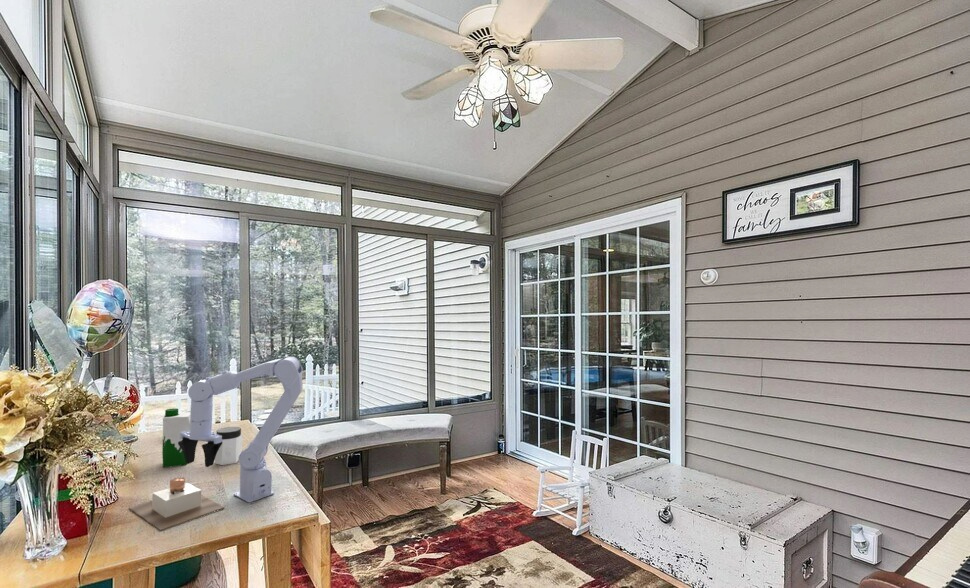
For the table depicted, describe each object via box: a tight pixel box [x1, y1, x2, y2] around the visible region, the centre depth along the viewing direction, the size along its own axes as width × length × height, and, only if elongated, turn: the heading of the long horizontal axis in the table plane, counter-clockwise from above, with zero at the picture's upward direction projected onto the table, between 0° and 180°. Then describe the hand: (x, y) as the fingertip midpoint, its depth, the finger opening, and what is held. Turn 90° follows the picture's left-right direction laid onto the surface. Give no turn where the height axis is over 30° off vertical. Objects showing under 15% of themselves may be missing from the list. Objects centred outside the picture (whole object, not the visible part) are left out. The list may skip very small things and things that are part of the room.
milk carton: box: [161, 408, 190, 468], centre depth 167 cm, size 9×9×20 cm
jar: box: [213, 426, 243, 466], centre depth 169 cm, size 9×8×12 cm
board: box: [128, 494, 225, 532], centre depth 130 cm, size 22×16×1 cm
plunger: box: [169, 477, 186, 494], centre depth 130 cm, size 4×4×7 cm
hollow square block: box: [151, 482, 202, 518], centre depth 130 cm, size 9×9×5 cm
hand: (199, 464), depth 137 cm, fingers open, 7 cm apart
